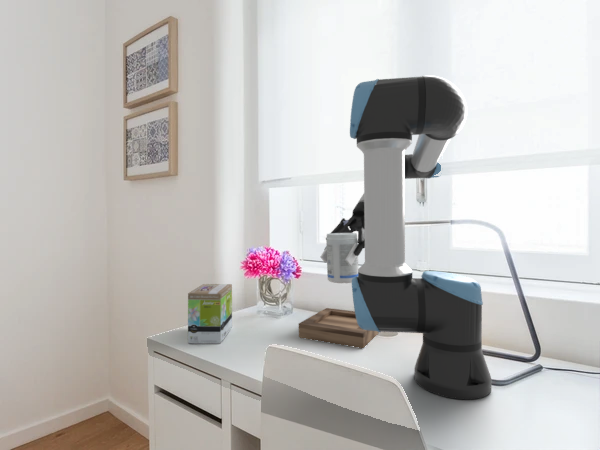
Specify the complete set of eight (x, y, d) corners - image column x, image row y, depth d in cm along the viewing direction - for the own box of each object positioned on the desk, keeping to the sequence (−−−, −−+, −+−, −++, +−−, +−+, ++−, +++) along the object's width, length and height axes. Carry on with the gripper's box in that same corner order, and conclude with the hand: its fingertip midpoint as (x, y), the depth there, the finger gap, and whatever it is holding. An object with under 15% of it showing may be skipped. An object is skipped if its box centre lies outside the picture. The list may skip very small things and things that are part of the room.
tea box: (222, 344, 102) (221, 292, 101) (187, 344, 102) (185, 293, 102) (233, 327, 117) (232, 282, 116) (202, 327, 117) (201, 283, 117)
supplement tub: (361, 279, 113) (361, 232, 112) (354, 284, 104) (353, 234, 103) (332, 277, 116) (331, 232, 116) (322, 282, 108) (322, 234, 107)
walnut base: (363, 348, 96) (363, 333, 96) (298, 337, 106) (298, 323, 106) (383, 327, 114) (383, 314, 114) (326, 319, 124) (326, 307, 124)
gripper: (401, 216, 111) (370, 273, 101) (347, 216, 128) (316, 265, 118) (391, 199, 108) (358, 256, 98) (337, 201, 124) (304, 250, 114)
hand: (335, 261), depth 108 cm, fingers closed on supplement tub, 9 cm apart
